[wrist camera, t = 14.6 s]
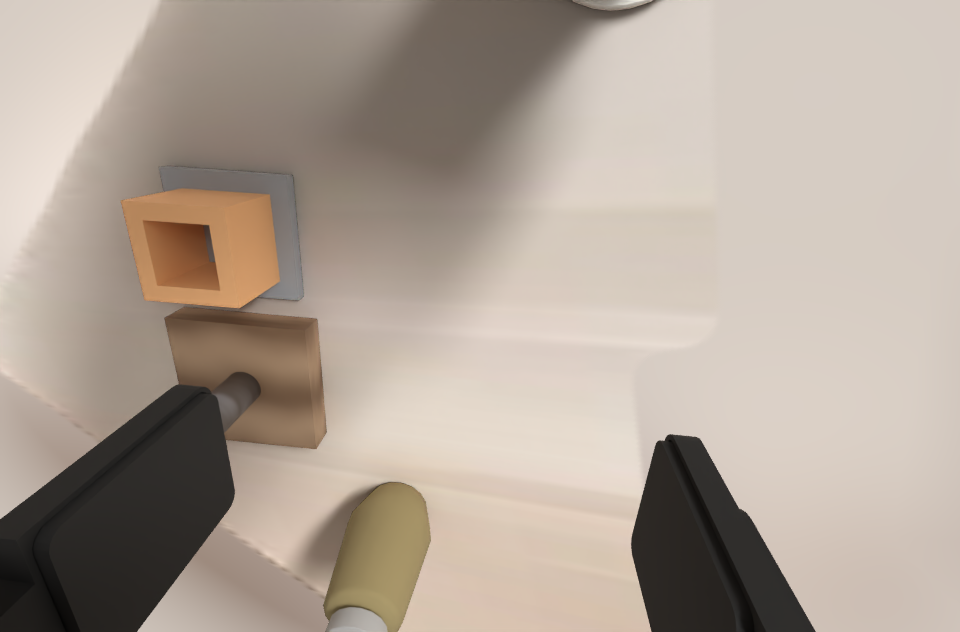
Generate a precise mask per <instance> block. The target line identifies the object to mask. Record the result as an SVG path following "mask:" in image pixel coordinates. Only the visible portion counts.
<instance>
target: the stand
mask: <svg viewBox="0 0 960 632" xmlns="http://www.w3.org/2000/svg"><path fill="white" fill-rule="evenodd" d="M165 323H166V327H167V332H168V336H169V341H170V345H171V350H172V354H173V359H174V363H175V368H176V372H177V377H178V381H179V385H180V384H182V385H192V386H202V387H207V388H209V390H210V391H211V393H212V394H213V395H215V396H216V397H217V399H218V402H219V408H220V413H221V418H222V424H223V429H224V435H225V440H233V441H243V442H253V443H262V444H272V445H281V446H291V447H301V448H310V449H317V447H318V445H319V444H320V442H321V441H322V439H323V437H324V436H325V434H326V433H327V431H326V419H325V407H324V395H323V383H322V371H321V359H320V347H319V335H318V323H317V319H313V318H302V317H291V316H279V315H268V314H257V313H246V312H235V311H223V310H212V309H201V308H190V307H184V308H182V309H180V310H178V311H176V312H174V313H173V314H171V315H169V316H167V317H165Z"/></svg>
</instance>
